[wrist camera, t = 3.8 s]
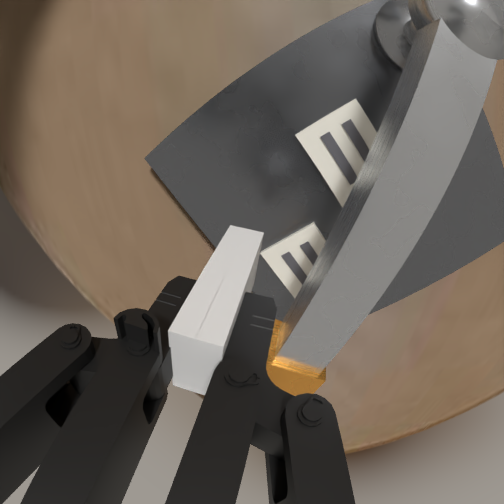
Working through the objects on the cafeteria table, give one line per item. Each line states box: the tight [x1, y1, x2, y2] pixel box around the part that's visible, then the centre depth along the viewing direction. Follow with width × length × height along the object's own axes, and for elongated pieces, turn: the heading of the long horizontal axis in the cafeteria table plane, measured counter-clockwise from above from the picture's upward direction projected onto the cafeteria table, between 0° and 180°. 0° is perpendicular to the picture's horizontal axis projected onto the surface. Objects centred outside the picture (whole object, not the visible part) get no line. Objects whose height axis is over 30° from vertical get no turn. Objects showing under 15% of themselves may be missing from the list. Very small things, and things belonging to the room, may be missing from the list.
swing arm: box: [266, 0, 504, 396], centre depth 10 cm, size 22×4×3 cm, turn 161°
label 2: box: [295, 99, 377, 208], centre depth 15 cm, size 6×4×1 cm, turn 36°
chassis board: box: [145, 0, 504, 321], centre depth 14 cm, size 18×20×6 cm
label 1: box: [260, 222, 326, 298], centre depth 19 cm, size 6×4×1 cm, turn 36°
